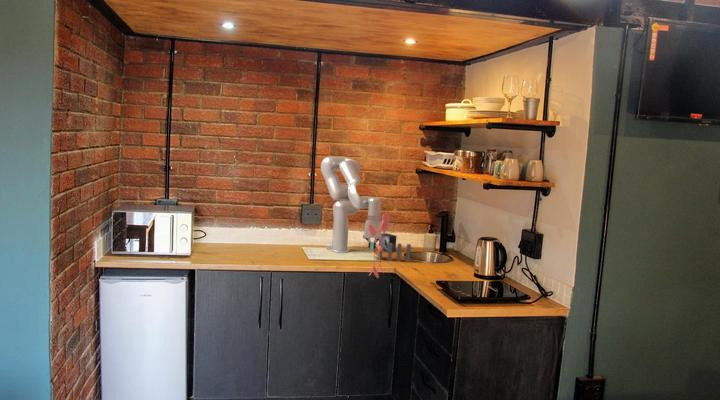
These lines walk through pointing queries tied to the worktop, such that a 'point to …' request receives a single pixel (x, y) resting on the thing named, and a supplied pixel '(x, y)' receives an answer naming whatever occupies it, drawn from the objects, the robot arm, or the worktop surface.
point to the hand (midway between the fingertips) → (371, 248)
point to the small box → (388, 241)
